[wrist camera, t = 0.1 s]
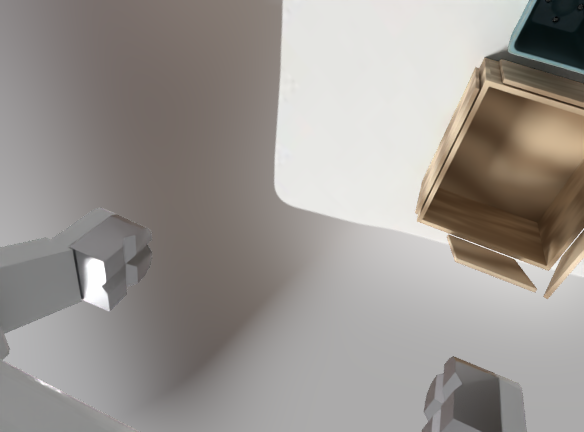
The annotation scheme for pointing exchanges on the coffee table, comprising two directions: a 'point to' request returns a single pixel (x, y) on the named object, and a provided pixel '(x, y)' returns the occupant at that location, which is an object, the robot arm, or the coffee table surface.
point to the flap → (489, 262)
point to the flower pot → (551, 34)
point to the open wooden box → (511, 164)
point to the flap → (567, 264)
